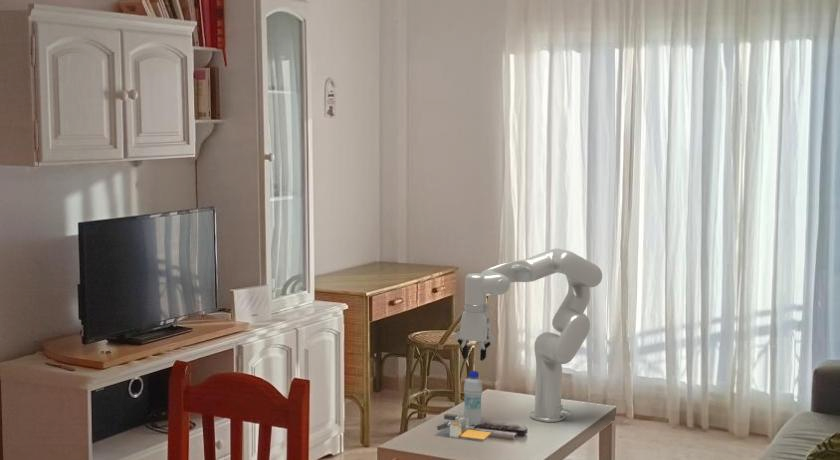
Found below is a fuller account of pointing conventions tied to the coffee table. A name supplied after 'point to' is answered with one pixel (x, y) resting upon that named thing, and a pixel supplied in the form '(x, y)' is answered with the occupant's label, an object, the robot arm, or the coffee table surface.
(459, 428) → the panel
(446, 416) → the lever
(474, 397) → the bottle
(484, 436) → the pad
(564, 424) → the coffee table surface
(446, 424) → the lever
